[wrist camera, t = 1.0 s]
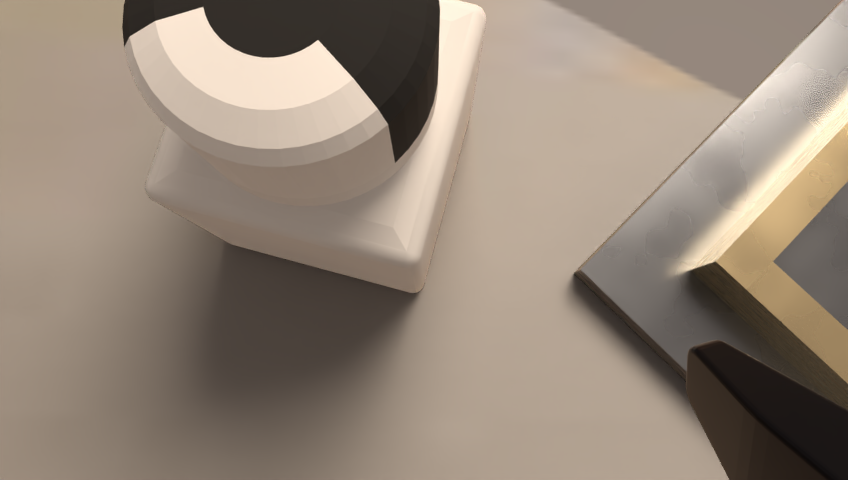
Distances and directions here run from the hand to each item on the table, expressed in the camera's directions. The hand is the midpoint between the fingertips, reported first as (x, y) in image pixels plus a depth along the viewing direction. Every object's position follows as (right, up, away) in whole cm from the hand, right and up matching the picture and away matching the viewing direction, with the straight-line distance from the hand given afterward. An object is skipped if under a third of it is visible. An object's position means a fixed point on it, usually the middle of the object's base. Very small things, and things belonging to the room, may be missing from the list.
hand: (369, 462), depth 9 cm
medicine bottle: (-2, +5, +15) cm, 16 cm away
